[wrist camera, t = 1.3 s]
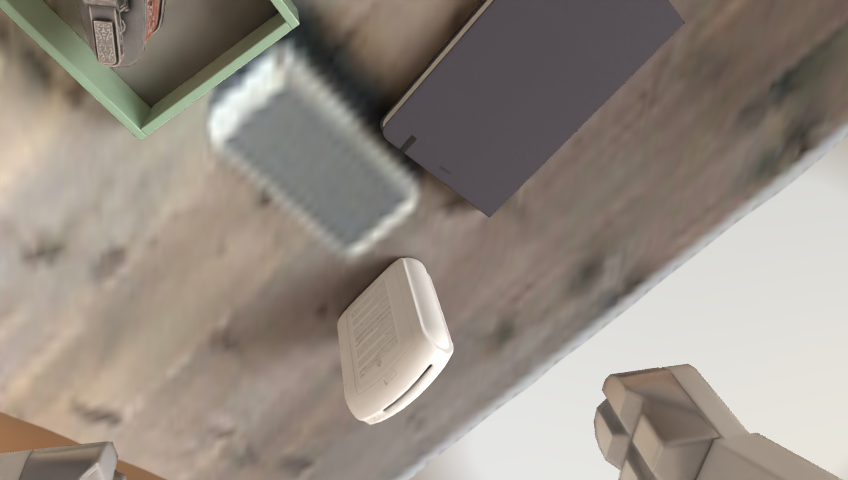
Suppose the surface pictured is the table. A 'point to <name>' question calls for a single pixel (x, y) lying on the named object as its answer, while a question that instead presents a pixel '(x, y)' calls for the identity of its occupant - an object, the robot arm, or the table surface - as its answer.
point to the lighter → (120, 28)
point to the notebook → (520, 88)
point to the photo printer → (392, 342)
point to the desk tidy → (111, 91)
